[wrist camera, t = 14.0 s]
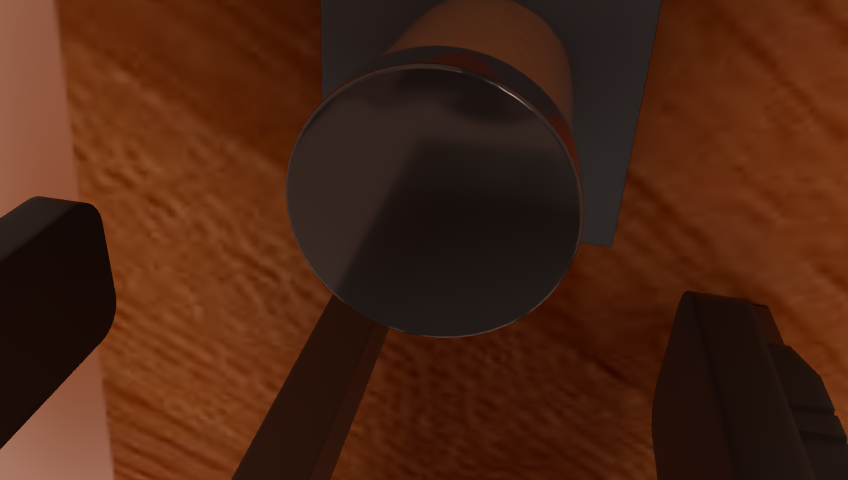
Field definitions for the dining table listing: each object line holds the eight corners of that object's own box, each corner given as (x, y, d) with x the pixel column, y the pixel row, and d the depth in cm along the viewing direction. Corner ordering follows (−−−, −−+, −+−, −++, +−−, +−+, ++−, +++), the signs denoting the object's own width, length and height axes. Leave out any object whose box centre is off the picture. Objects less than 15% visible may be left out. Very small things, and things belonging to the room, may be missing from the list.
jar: (383, -22, 19) (277, 48, 13) (596, -4, 19) (609, 81, 12) (378, 172, 22) (289, 318, 15) (565, 194, 21) (560, 358, 14)
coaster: (323, -105, 19) (318, -104, 19) (676, -80, 18) (677, -78, 18) (326, 204, 23) (322, 209, 23) (611, 241, 22) (612, 248, 22)
